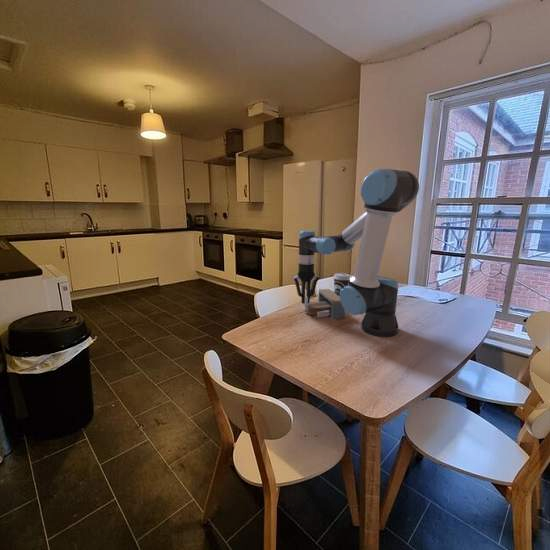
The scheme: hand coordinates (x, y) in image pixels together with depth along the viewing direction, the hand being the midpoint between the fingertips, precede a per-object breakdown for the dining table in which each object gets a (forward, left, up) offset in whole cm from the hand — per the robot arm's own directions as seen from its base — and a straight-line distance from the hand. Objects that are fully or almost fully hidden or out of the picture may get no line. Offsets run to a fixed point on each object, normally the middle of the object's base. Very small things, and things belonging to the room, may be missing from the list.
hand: (305, 309), depth 146 cm
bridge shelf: (0, -10, -2) cm, 10 cm away
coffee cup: (+16, -26, -2) cm, 30 cm away
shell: (+1, -7, -2) cm, 7 cm away
